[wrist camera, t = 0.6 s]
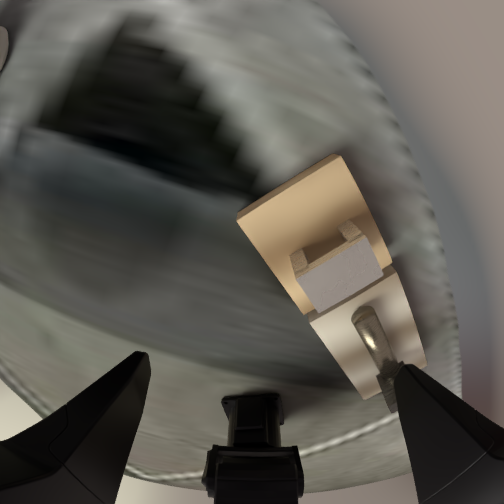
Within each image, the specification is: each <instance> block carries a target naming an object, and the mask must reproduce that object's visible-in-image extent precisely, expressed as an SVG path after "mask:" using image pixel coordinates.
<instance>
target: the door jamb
mask: <svg viewBox="0 0 504 504" xmlns="http://www.w3.org/2000/svg"><path fill="white" fill-rule="evenodd" d="M348 219H349V220H350V221H351V222H352V223H353V224H354V225H355V226H356V227H357V228H358V229H359V230H360V231H361V232H362V233H363V234H364V235H365V236H366V237H367V239H368V241H369V243H370V245H371V247H372V250H373V252H374V254H375V256H376V258H377V260H378V263H379V265H380V267H381V269H382V272H383V274H384V275H383V276H382V277H380V278H379V279H377V280H375V281H374V282H372V283H370V284H369V285H367V286H366V287H364V288H362V289H361V290H359V291H357V292H355V293H354V294H352V295H350V296H349V297H347V298H345V299H343V300H342V301H340V302H338V303H336V304H335V305H333V306H331V307H329V308H328V309H326V310H324V311H322V312H320V313H318V312H317V310H316V309H315V307H314V306H313V304H312V303H311V301H310V300H309V298H308V297H307V295H306V294H305V292H304V291H303V289H302V288H301V286H300V285H299V284H298V282H297V281H296V279H295V275H294V271H293V268H292V264H291V260H290V256H289V255H290V254H292V253H294V252H295V251H297V250H299V249H300V248H302V249H303V251H304V252H305V254H306V255H307V257H308V259H309V260H310V262H311V263H312V262H313V261H315V260H317V259H319V258H320V257H322V256H324V255H325V254H327V253H329V252H330V251H332V250H334V249H335V248H337V247H339V246H340V245H342V244H343V243H345V241H344V239H343V237H342V236H341V234H340V232H339V230H338V228H337V226H338V225H340V224H342V223H343V222H345V221H347V220H348ZM237 223H238V224H239V225H240V227H241V228H242V229H243V231H244V232H245V234H246V235H247V236H248V238H249V239H250V241H251V242H252V243H253V245H254V246H255V247H256V249H257V250H258V252H259V253H260V254H261V256H262V257H263V259H264V260H265V261H266V263H267V264H268V266H269V267H270V268H271V270H272V271H273V273H274V274H275V275H276V277H277V278H278V280H279V281H280V282H281V284H282V285H283V286H284V288H285V289H286V291H287V292H288V293H289V295H290V296H291V298H292V299H293V300H294V302H295V303H296V305H297V306H298V307H299V309H300V310H301V312H302V313H303V314H306V313H307V315H308V319H309V323H310V324H311V326H312V327H313V329H314V330H315V331H316V333H317V334H318V336H319V337H320V338H321V340H322V341H323V343H324V344H325V345H326V347H327V348H328V350H329V351H330V352H331V354H332V355H333V357H334V358H335V359H336V361H337V362H338V364H339V365H340V367H341V368H342V369H343V371H344V372H345V374H346V375H347V376H348V378H349V379H350V381H351V382H352V383H353V385H354V386H355V388H356V389H357V391H358V392H359V393H360V395H361V396H362V398H363V399H364V400H366V399H368V398H370V397H372V396H374V395H376V394H378V393H379V392H381V391H382V390H381V388H380V385H379V383H378V380H377V378H376V375H378V374H380V372H379V370H378V369H377V367H376V365H375V363H374V361H373V359H372V357H371V356H370V354H369V352H368V350H367V348H366V347H365V345H364V343H363V341H362V339H361V338H360V336H359V334H358V332H357V330H356V329H355V327H354V325H353V323H352V322H351V317H352V315H353V313H354V312H355V311H356V310H357V309H358V308H360V307H363V306H371V307H373V308H374V310H375V312H376V314H377V316H378V318H379V320H380V322H381V325H382V327H383V329H384V331H385V333H386V336H387V338H388V340H389V342H390V345H391V347H392V349H393V351H394V354H395V356H396V358H397V361H398V363H399V362H401V361H403V362H404V364H414V365H415V366H416V367H418V368H419V369H422V368H423V367H425V366H426V365H427V361H426V358H425V354H424V351H423V347H422V344H421V340H420V337H419V334H418V331H417V327H416V324H415V321H414V318H413V315H412V312H411V309H410V306H409V304H408V301H407V298H406V295H405V293H404V290H403V287H402V285H401V282H400V279H399V277H398V274H397V272H396V271H395V270H394V268H393V267H392V266H391V265H390V264H391V263H392V259H391V257H390V255H389V252H388V250H387V247H386V245H385V243H384V241H383V238H382V236H381V234H380V232H379V229H378V227H377V225H376V223H375V221H374V219H373V217H372V214H371V212H370V210H369V208H368V206H367V204H366V202H365V200H364V198H363V196H362V194H361V192H360V190H359V188H358V186H357V185H356V183H355V181H354V179H353V177H352V175H351V173H350V171H349V170H348V168H347V166H346V164H345V162H344V161H343V159H342V157H341V156H339V155H336V154H331V155H329V156H328V157H326V158H324V159H323V160H321V161H319V162H318V163H316V164H314V165H313V166H311V167H310V168H308V169H306V170H305V171H303V172H301V173H300V174H298V175H296V176H295V177H293V178H292V179H290V180H288V181H287V182H285V183H284V184H282V185H280V186H279V187H277V188H276V189H274V190H272V191H271V192H269V193H268V194H266V195H265V196H263V197H261V198H260V199H258V200H257V201H255V202H254V203H252V204H250V205H249V206H247V207H246V208H244V209H243V210H241V211H240V212H238V215H237Z"/></svg>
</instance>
